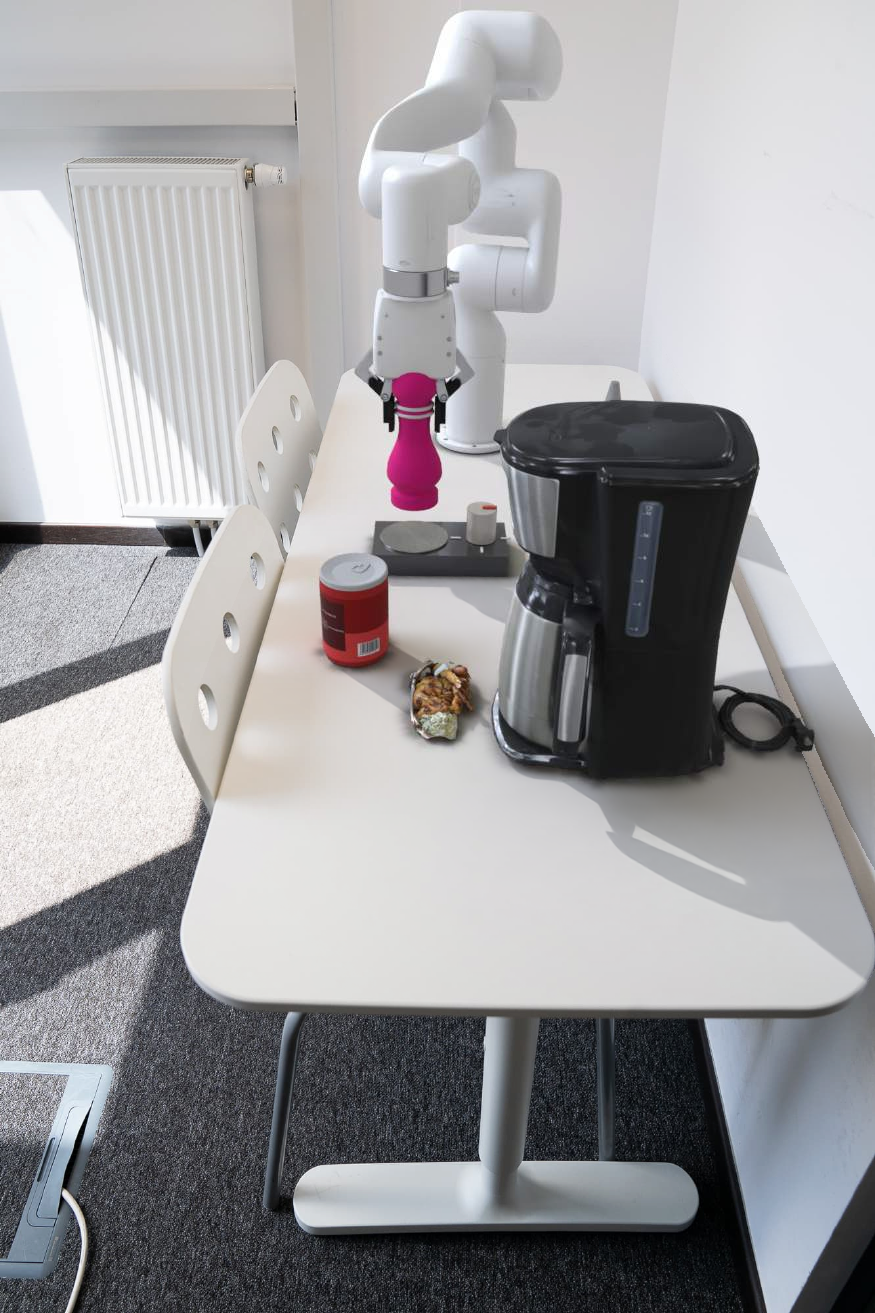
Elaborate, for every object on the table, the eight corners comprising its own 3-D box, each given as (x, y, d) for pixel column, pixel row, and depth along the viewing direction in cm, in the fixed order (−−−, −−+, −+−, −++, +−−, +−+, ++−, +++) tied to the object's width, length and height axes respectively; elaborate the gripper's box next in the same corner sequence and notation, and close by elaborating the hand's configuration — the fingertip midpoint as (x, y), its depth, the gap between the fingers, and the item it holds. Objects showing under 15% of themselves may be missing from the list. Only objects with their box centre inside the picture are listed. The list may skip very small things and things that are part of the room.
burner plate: (381, 522, 143) (381, 520, 142) (447, 522, 143) (447, 520, 142) (378, 553, 135) (378, 551, 135) (448, 554, 135) (448, 552, 135)
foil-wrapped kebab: (409, 742, 107) (409, 714, 105) (408, 675, 117) (408, 649, 115) (476, 741, 107) (477, 714, 105) (469, 675, 117) (470, 649, 115)
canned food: (398, 638, 123) (398, 558, 117) (373, 674, 117) (371, 591, 111) (340, 626, 125) (336, 547, 119) (312, 661, 119) (307, 579, 113)
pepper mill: (385, 491, 138) (382, 342, 128) (438, 489, 139) (440, 341, 128) (389, 514, 132) (386, 359, 121) (444, 512, 133) (447, 358, 122)
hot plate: (372, 575, 136) (371, 553, 134) (375, 539, 145) (375, 519, 143) (512, 576, 136) (513, 555, 135) (507, 541, 145) (508, 521, 143)
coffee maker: (461, 681, 116) (471, 392, 97) (719, 643, 124) (775, 368, 105) (527, 815, 98) (555, 492, 79) (825, 762, 105) (915, 454, 87)
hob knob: (466, 545, 137) (467, 512, 134) (465, 531, 140) (466, 499, 138) (496, 545, 137) (498, 512, 135) (494, 531, 141) (496, 499, 138)
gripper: (486, 274, 124) (480, 418, 134) (344, 272, 123) (349, 416, 134) (489, 290, 117) (482, 440, 128) (339, 288, 117) (345, 439, 127)
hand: (414, 427), depth 130 cm, fingers closed on pepper mill, 5 cm apart
